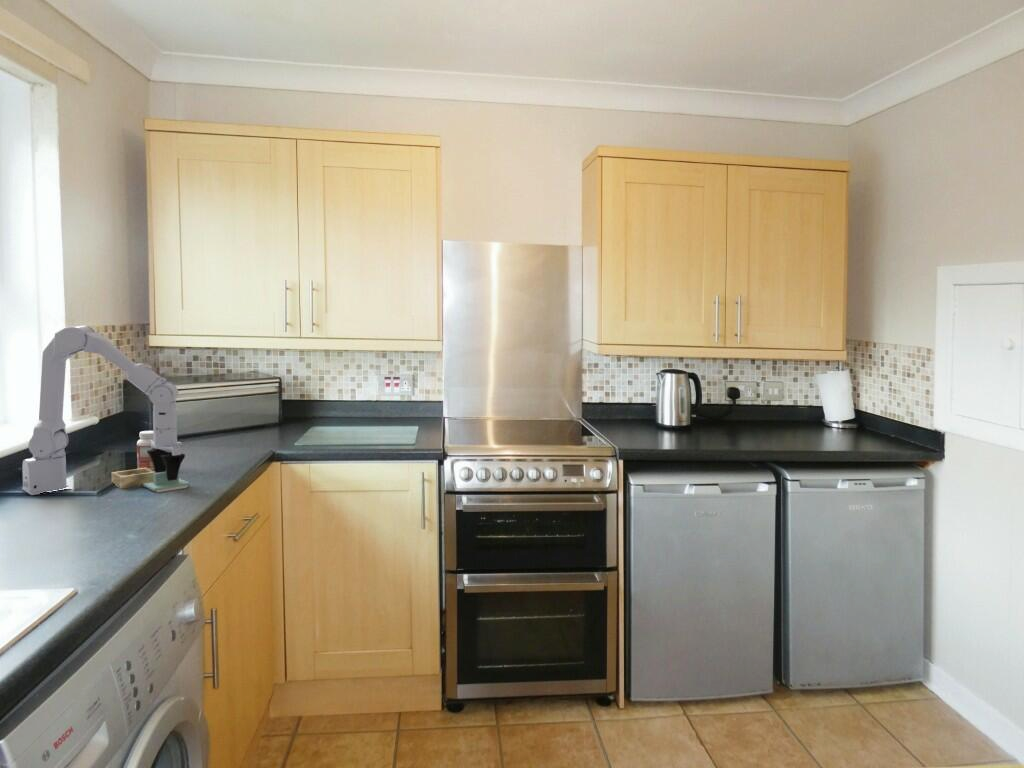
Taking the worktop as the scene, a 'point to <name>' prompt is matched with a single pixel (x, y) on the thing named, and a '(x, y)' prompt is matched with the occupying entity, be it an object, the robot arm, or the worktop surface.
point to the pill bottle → (144, 450)
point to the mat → (171, 489)
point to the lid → (164, 482)
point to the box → (132, 477)
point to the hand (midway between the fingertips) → (166, 477)
